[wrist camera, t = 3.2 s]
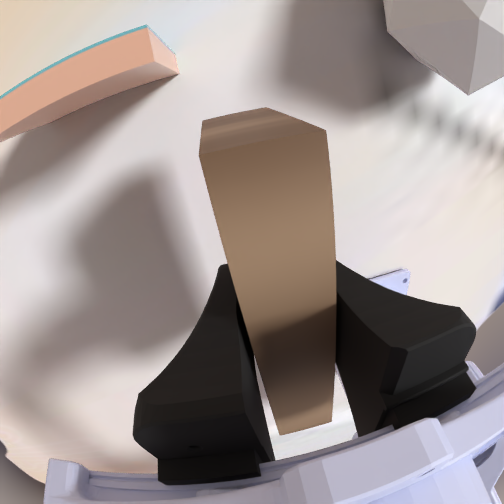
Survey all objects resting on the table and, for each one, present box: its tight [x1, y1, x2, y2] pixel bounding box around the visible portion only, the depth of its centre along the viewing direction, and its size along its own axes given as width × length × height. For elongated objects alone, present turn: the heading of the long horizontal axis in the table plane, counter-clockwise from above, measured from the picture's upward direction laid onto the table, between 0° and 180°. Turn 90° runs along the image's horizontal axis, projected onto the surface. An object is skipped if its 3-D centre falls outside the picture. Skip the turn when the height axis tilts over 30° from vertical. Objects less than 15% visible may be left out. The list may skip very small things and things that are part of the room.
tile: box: [0, 25, 180, 142], centre depth 9 cm, size 1×8×8 cm, turn 100°
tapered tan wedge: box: [199, 107, 336, 435], centre depth 11 cm, size 12×2×6 cm, turn 11°
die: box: [383, 0, 504, 95], centre depth 9 cm, size 8×9×10 cm
